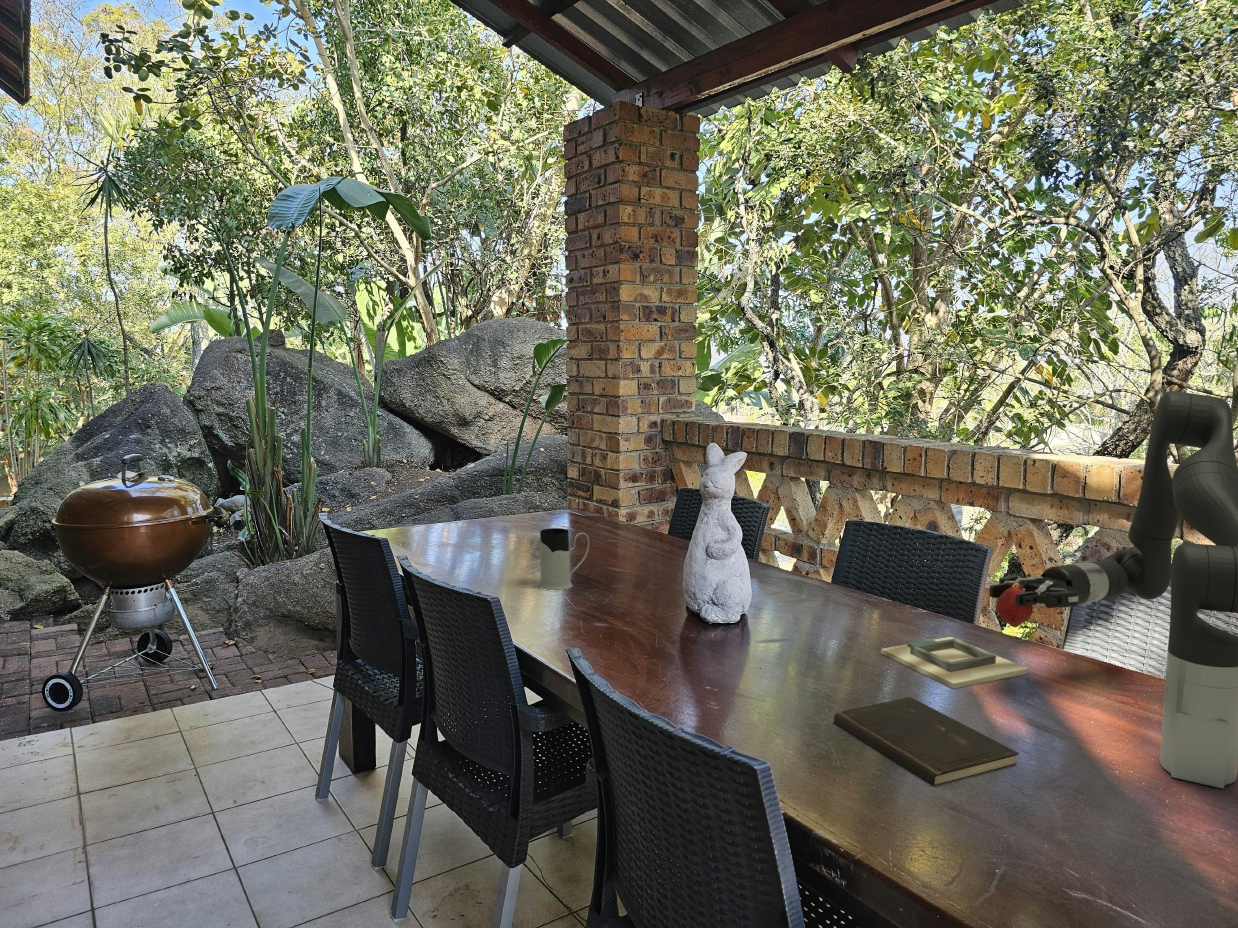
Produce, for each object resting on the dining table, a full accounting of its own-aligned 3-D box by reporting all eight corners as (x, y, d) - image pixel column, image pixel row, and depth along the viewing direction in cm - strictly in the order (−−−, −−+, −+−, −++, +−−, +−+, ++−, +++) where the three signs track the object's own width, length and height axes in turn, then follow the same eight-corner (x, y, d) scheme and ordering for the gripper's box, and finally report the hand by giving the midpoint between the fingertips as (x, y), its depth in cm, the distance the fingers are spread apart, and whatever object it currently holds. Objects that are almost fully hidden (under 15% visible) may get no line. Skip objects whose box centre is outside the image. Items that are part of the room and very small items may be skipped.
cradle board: (1028, 673, 162) (1028, 660, 162) (953, 688, 155) (953, 675, 155) (950, 641, 180) (951, 629, 180) (881, 653, 174) (881, 641, 173)
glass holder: (534, 584, 229) (533, 529, 227) (583, 578, 235) (582, 524, 233) (545, 592, 221) (544, 535, 219) (596, 585, 227) (595, 530, 225)
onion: (1011, 633, 149) (1012, 589, 148) (989, 624, 155) (990, 580, 154) (1039, 629, 151) (1040, 585, 150) (1016, 620, 156) (1017, 577, 155)
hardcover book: (910, 709, 148) (910, 696, 148) (1018, 767, 127) (1018, 752, 127) (833, 725, 142) (833, 712, 142) (933, 789, 121) (934, 774, 121)
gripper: (1042, 556, 164) (973, 566, 157) (1110, 573, 150) (1037, 585, 144) (1041, 594, 164) (972, 605, 158) (1108, 614, 151) (1036, 628, 145)
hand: (1004, 596), depth 151 cm, fingers closed on onion, 5 cm apart
